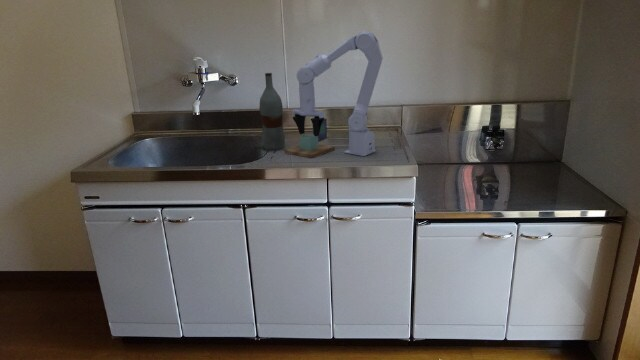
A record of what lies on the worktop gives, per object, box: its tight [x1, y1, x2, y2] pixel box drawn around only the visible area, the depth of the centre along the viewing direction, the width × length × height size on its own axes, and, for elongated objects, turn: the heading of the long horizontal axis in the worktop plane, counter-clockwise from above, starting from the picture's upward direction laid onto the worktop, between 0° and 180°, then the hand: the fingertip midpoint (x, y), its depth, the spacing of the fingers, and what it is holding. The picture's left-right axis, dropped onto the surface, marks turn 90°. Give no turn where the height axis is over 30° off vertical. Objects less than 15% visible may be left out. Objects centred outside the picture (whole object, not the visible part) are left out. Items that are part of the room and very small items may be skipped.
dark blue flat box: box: [312, 117, 328, 143], centre depth 190 cm, size 9×3×11 cm, turn 146°
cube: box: [299, 133, 319, 151], centre depth 172 cm, size 5×5×5 cm
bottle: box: [259, 72, 286, 151], centre depth 177 cm, size 9×9×30 cm
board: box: [284, 143, 336, 159], centre depth 173 cm, size 14×14×1 cm
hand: (309, 134), depth 172 cm, fingers open, 7 cm apart
